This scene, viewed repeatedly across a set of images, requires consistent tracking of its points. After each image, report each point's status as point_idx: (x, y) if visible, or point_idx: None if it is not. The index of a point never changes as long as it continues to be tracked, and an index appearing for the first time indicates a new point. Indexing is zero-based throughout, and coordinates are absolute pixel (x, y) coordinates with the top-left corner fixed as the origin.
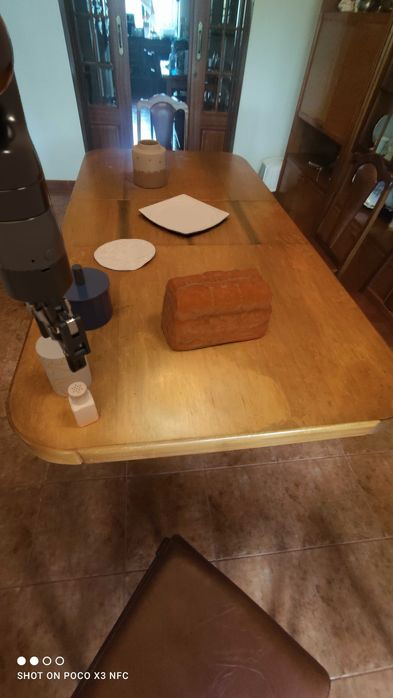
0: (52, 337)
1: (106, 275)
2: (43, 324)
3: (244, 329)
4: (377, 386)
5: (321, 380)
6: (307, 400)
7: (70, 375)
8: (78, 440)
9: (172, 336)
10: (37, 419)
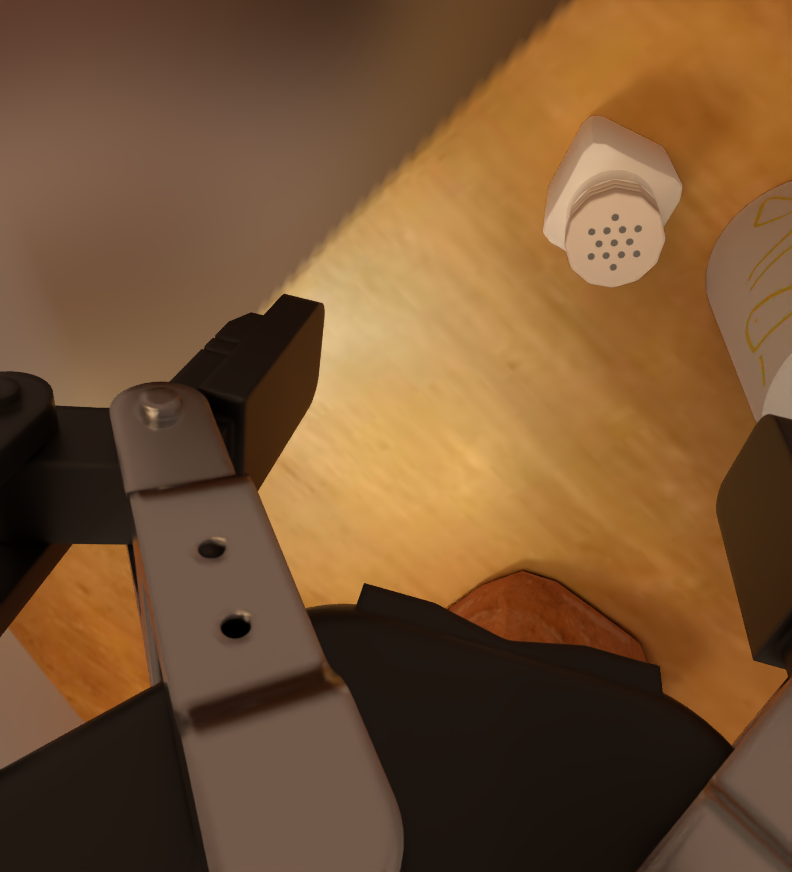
0: (149, 513)
1: None
2: (310, 634)
3: None
4: (52, 662)
5: (138, 634)
6: (120, 576)
7: (757, 284)
8: (554, 63)
9: (524, 622)
10: None
